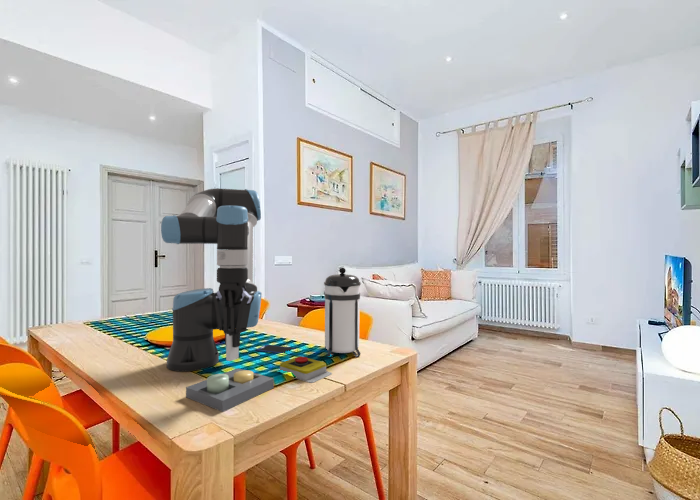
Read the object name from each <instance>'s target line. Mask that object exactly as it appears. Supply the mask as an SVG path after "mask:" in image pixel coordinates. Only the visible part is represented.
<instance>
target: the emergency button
mask: <svg viewBox="0 0 700 500" xmlns="http://www.w3.org/2000/svg"><path fill="white" fill-rule="evenodd" d="M279 369H280V370H283V371H287V372H292V373H293V374H294V375H295V376H296V377H297V378H296V379H297V380H299V381H303V382H307V383H309V384H310V383H311V384H312V383H317V381H320V380H323V379H325V378H327V377H329V376H331V375H332V374H333V372H330V371H327V363H326V362H323V361H320V360H316V359H312V358H308V357H305V356H297V357H294V358H291V359H288V360H285V361H282V362H280V364H279Z"/></svg>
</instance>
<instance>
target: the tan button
mask: <svg viewBox="0 0 700 500" xmlns="http://www.w3.org/2000/svg"><path fill="white" fill-rule="evenodd" d="M242 370H243V371H238V372H236V373H234V381H235V382H238V383H241V384H244V383H246V382H248V381H251V380H253V373H254V371H252V370H246V369H242Z"/></svg>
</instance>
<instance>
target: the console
mask: <svg viewBox="0 0 700 500" xmlns="http://www.w3.org/2000/svg"><path fill="white" fill-rule="evenodd" d="M243 370H244V369H241V368H236V369H233V370H230V371H226V372H224V373H223V374H227V375H228V376H229V389H228V390H227V391H224V392H222V393H219V394H211V393H208V392H207V379H205V380H202V381H200V382H196V383H194V384H191V385H188V386H186V387H185V397H186V398H188V399H190V400H192V401H195V402H198V403H200V404H202V405H205V406H207V407H210V408H212V409H215V410H217V411H219V412H225V411H228V410H230V409H232V408H234V407H236V406H238V405H240V404H242V403H245V402H247V401H250V399H253V398H255V397H257V396H259V395H261V394H264V393H266V392H269V391H270V390H272V389H274V387H275V385H274V383H275V381H274V380H275V379H274V378H273V377H270V376H265V375H264V374H263V375H262V374H260V373H255V372H253V380H251V381H248V382H246V383H244V384H241V383H238V382H235V381H234V373H236V372H238V371H243Z"/></svg>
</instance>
